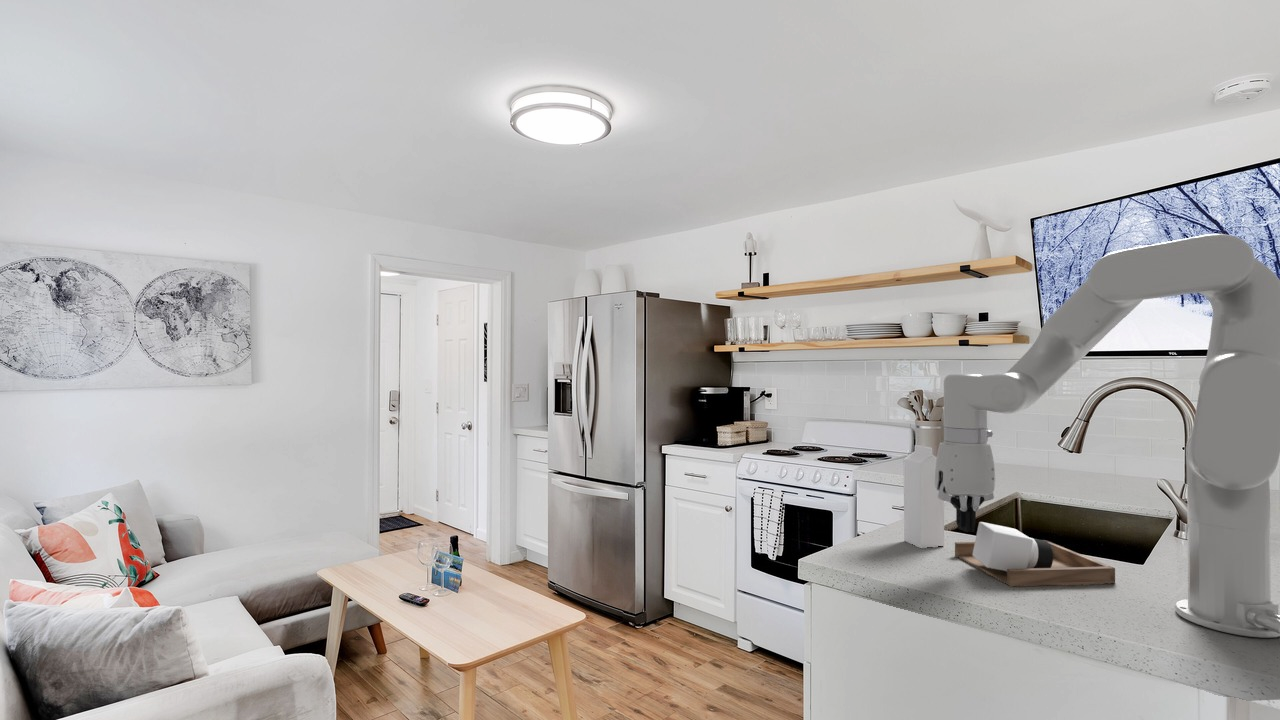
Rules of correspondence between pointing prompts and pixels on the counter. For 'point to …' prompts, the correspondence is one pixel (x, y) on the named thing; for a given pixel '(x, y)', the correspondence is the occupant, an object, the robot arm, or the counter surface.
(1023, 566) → the medicine bottle
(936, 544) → the milk
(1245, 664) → the counter surface
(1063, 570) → the walnut tray
